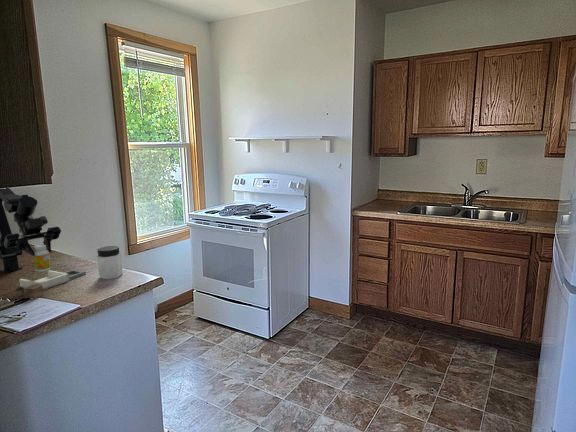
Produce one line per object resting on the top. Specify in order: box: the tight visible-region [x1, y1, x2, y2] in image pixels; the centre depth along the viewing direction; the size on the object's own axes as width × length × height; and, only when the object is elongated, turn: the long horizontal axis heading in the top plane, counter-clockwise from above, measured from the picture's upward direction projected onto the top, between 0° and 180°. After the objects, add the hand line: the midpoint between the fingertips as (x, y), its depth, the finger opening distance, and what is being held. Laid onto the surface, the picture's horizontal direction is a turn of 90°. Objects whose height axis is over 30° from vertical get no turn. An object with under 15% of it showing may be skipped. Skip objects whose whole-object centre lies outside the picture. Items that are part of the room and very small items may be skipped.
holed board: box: [63, 268, 87, 281], centre depth 155 cm, size 8×8×1 cm
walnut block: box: [23, 285, 44, 300], centre depth 133 cm, size 4×4×4 cm
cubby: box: [18, 269, 70, 291], centre depth 146 cm, size 12×12×3 cm
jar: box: [96, 245, 124, 280], centre depth 153 cm, size 9×8×12 cm
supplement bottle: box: [32, 244, 52, 272], centre depth 144 cm, size 5×5×10 cm
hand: (42, 253), depth 143 cm, fingers closed on supplement bottle, 5 cm apart
